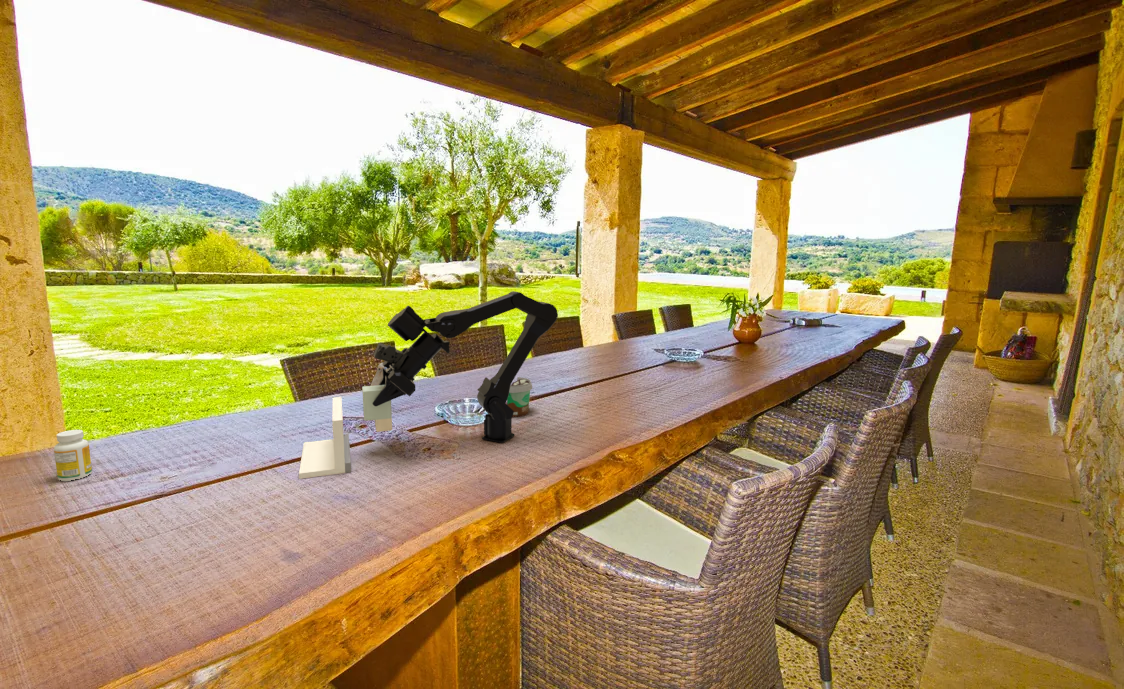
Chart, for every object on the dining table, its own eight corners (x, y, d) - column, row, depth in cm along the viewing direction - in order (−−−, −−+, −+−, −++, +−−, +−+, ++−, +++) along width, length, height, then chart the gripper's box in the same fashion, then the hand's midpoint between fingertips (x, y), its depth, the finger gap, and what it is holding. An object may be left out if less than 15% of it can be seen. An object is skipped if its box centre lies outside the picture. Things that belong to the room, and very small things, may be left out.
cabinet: (391, 423, 128) (389, 384, 126) (393, 430, 124) (391, 389, 122) (364, 426, 126) (362, 386, 124) (365, 433, 121) (363, 391, 119)
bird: (381, 415, 155) (379, 365, 152) (364, 405, 165) (362, 358, 162) (397, 412, 158) (395, 363, 155) (379, 402, 168) (378, 356, 165)
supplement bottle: (67, 483, 106) (60, 438, 104) (52, 479, 108) (45, 434, 106) (98, 473, 111) (92, 430, 109) (83, 469, 112) (77, 427, 111)
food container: (526, 420, 153) (526, 387, 151) (506, 418, 154) (506, 385, 152) (536, 408, 165) (536, 378, 163) (517, 407, 166) (518, 376, 164)
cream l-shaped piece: (348, 442, 132) (346, 396, 130) (351, 472, 114) (348, 419, 112) (304, 447, 128) (301, 399, 126) (299, 478, 110) (295, 424, 108)
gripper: (390, 326, 131) (345, 372, 128) (398, 337, 114) (346, 390, 112) (423, 355, 135) (380, 400, 133) (435, 370, 118) (386, 421, 116)
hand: (373, 402), depth 123 cm, fingers closed on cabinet, 5 cm apart
